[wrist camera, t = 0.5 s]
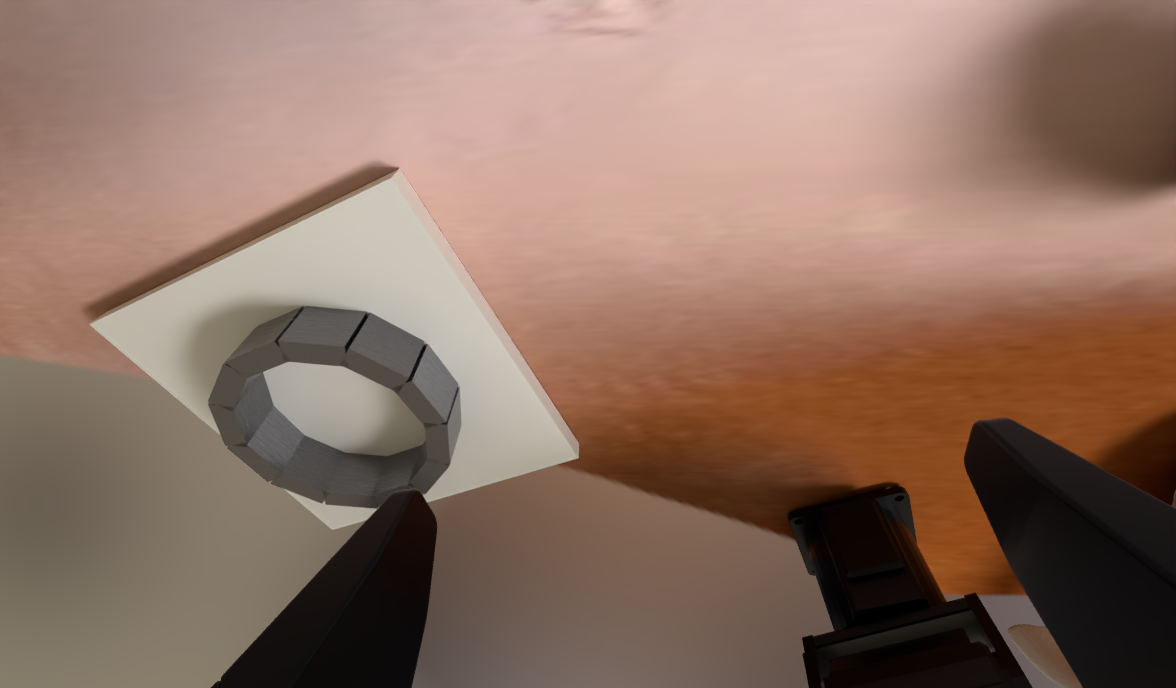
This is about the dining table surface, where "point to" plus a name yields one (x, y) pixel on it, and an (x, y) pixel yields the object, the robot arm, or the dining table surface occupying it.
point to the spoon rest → (1046, 651)
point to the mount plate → (334, 396)
